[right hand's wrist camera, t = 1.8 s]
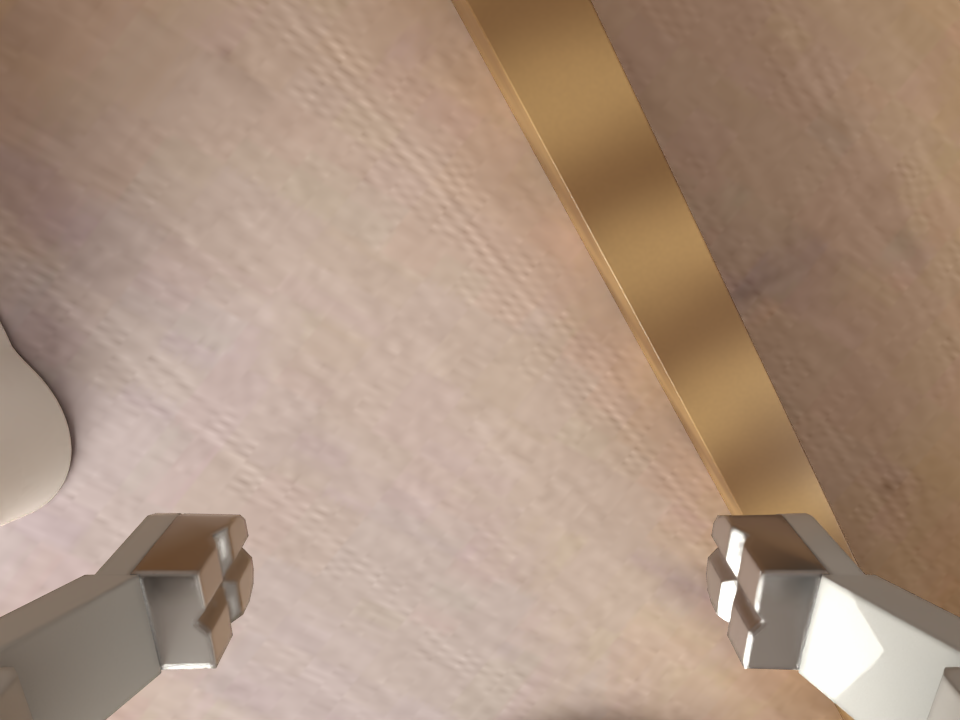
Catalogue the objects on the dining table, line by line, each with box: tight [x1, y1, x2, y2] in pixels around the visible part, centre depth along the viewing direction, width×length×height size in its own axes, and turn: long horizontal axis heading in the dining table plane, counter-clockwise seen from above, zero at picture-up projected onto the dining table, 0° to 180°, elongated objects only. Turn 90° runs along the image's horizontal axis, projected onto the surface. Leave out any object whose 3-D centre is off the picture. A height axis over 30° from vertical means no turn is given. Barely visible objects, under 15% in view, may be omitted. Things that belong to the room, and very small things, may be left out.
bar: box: [451, 0, 859, 720], centre depth 38 cm, size 70×5×6 cm, turn 31°
